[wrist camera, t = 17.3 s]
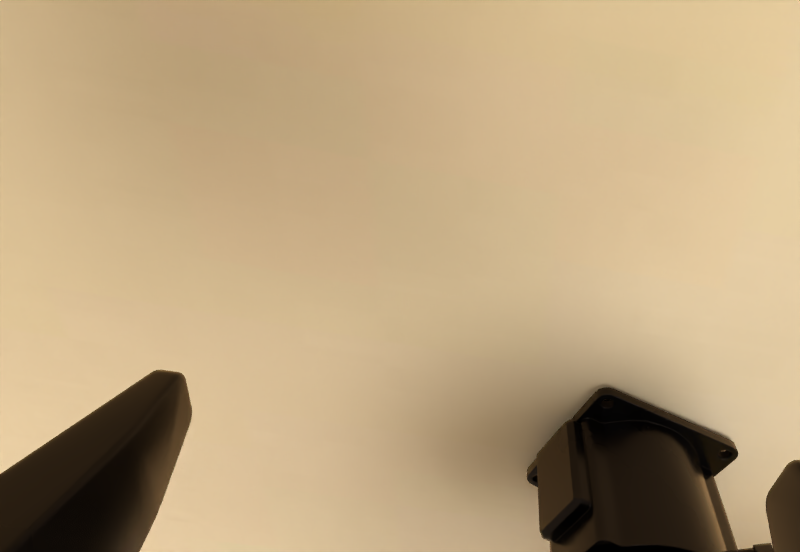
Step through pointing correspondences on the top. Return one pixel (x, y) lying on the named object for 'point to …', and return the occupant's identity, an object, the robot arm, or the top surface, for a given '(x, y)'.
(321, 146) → the top surface
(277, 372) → the top surface
